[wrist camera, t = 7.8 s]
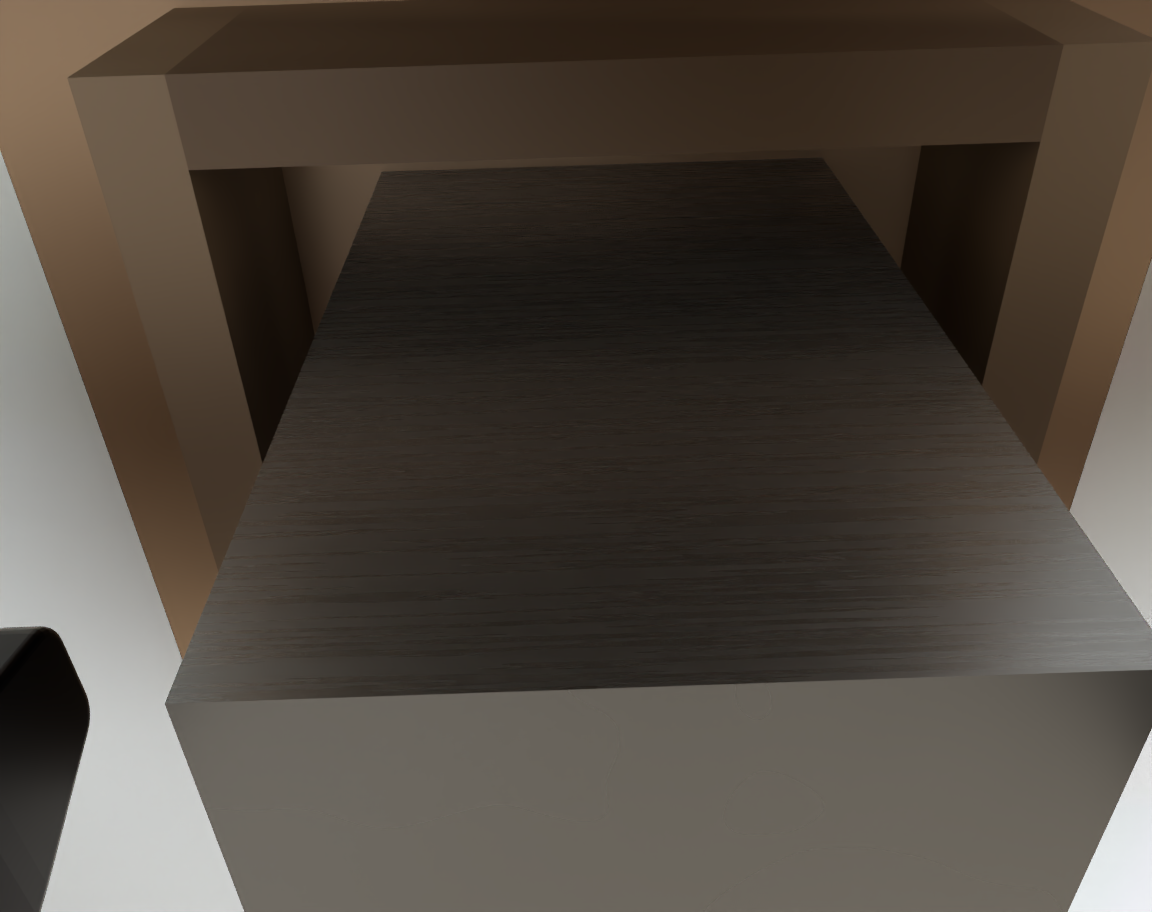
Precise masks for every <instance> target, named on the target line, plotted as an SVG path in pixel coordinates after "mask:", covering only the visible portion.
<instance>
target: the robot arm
mask: <svg viewBox="0 0 1152 912" xmlns="http://www.w3.org/2000/svg"><path fill="white" fill-rule="evenodd" d="M89 720H90V708H89V702H88V698H87V695H86V693H85V690H84V688H83V686H82V684H81V681H80V679H79V677H78V675H77V673H76V670H75V668H74V666H73V664H72V661H71V659H70V657H69V655H68V652H67V650H66V648H65V646H64V643H63V641H62V639H61V638H60V636H59V635H58V634H57V633H56V632H55V631H54V630H52V629H51V628H47V627H41V626H40V627H12V628H1V629H0V912H40V911H41V908H42V904H43V901H44V897H45V894H46V891H47V887H48V883H49V880H50V876H51V872H52V868H53V864H54V860H55V856H56V853H57V849H58V845H59V841H60V837H61V833H62V829H63V826H64V822H65V818H66V814H67V810H68V806H69V802H70V799H71V795H72V791H73V787H74V783H75V779H76V775H77V771H78V768H79V764H80V760H81V756H82V752H83V748H84V744H85V741H86V737H87V733H88V728H89Z"/></svg>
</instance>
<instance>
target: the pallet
mask: <svg viewBox="0 0 1152 912" xmlns="http://www.w3.org/2000/svg"><path fill="white" fill-rule="evenodd" d="M0 150H1V153H2V156H3V159H4V161H5V164H6V167H7V170H8V173H9V175H10V178H11V181H12V184H13V187H14V189H15V192H16V195H17V198H18V201H19V203H20V206H21V209H22V212H23V215H24V217H25V220H26V223H27V226H28V229H29V231H30V234H31V237H32V240H33V243H34V245H35V248H36V251H37V254H38V257H39V259H40V262H41V265H42V268H43V271H44V273H45V276H46V279H47V282H48V284H49V287H50V290H51V293H52V296H53V298H54V301H55V304H56V307H57V310H58V312H59V315H60V318H61V321H62V324H63V326H64V329H65V332H66V335H67V338H68V340H69V343H70V346H71V349H72V352H73V354H74V357H75V360H76V363H77V366H78V368H79V371H80V374H81V377H82V380H83V382H84V385H85V388H86V391H87V394H88V396H89V399H90V402H91V405H92V408H93V410H94V413H95V416H96V419H97V422H98V424H99V427H100V430H101V433H102V436H103V438H104V441H105V444H106V447H107V450H108V452H109V455H110V458H111V461H112V464H113V466H114V469H115V472H116V475H117V478H118V480H119V483H120V486H121V489H122V492H123V494H124V497H125V500H126V503H127V506H128V508H129V511H130V514H131V517H132V520H133V522H134V525H135V528H136V531H137V534H138V536H139V539H140V542H141V545H142V548H143V550H144V553H145V556H146V559H147V562H148V564H149V567H150V570H151V573H152V576H153V578H154V581H155V584H156V587H157V589H158V592H159V595H160V598H161V601H162V603H163V606H164V609H165V612H166V615H167V617H168V620H169V623H170V626H171V629H172V631H173V634H174V637H175V640H176V643H177V645H178V648H179V651H180V654H181V657H182V659H183V658H184V656H185V653H186V651H187V648H188V646H189V643H190V641H191V638H192V636H193V634H194V631H195V629H196V626H197V624H198V621H199V619H200V616H201V614H202V611H203V609H204V607H205V604H206V602H207V599H208V597H209V594H210V592H211V589H212V587H213V584H214V582H215V580H216V577H217V575H218V572H219V570H220V567H221V565H222V562H223V560H224V557H225V555H226V553H227V550H228V548H229V545H230V543H231V540H232V538H233V535H234V533H235V530H236V528H237V526H238V523H239V521H240V518H241V516H242V513H243V511H244V508H245V506H246V503H247V501H248V499H249V496H250V494H251V491H252V489H253V486H254V484H255V481H256V479H257V476H258V474H259V472H260V469H261V467H262V464H263V462H264V459H265V457H266V454H267V452H268V449H269V447H270V445H271V442H272V440H273V437H274V435H275V432H276V430H277V427H278V425H279V422H280V420H281V418H282V415H283V413H284V410H285V408H286V405H287V403H288V400H289V398H290V395H291V393H292V391H293V388H294V386H295V383H296V381H297V378H298V376H299V373H300V371H301V368H302V366H303V364H304V361H305V359H306V356H307V354H308V351H309V349H310V346H311V344H312V341H313V339H314V337H315V334H316V332H317V329H318V327H319V324H320V322H321V319H322V317H323V314H324V312H325V310H326V307H327V305H328V302H329V300H330V297H331V295H332V292H333V290H334V287H335V285H336V283H337V280H338V278H339V275H340V273H341V270H342V268H343V265H344V263H345V260H346V258H347V256H348V253H349V251H350V248H351V246H352V243H353V241H354V238H355V236H356V233H357V231H358V229H359V226H360V224H361V221H362V219H363V216H364V214H365V211H366V209H367V206H368V204H369V202H370V199H371V197H372V194H373V192H374V189H375V187H376V184H377V182H378V179H379V177H380V175H381V172H387V171H418V170H450V169H481V168H513V167H544V166H575V165H607V164H638V163H670V162H701V161H733V160H764V159H796V158H823V159H824V160H825V162H826V163H827V165H828V166H829V168H830V169H831V171H832V172H833V173H834V175H835V176H836V178H837V179H838V181H839V182H840V183H841V185H842V186H843V188H844V189H845V191H846V192H847V193H848V195H849V196H850V198H851V199H852V201H853V202H854V203H855V205H856V206H857V208H858V209H859V211H860V212H861V214H862V215H863V216H864V218H865V219H866V221H867V222H868V224H869V225H870V226H871V228H872V229H873V231H874V232H875V234H876V235H877V236H878V238H879V239H880V241H881V242H882V244H883V245H884V246H885V248H886V249H887V251H888V252H889V254H890V255H891V257H892V258H893V259H894V261H895V262H896V264H897V265H898V267H899V268H900V269H901V271H902V272H903V274H904V275H905V277H906V278H907V279H908V281H909V282H910V284H911V285H912V287H913V288H914V289H915V291H916V292H917V294H918V295H919V297H920V298H921V300H922V301H923V302H924V304H925V305H926V307H927V308H928V310H929V311H930V312H931V314H932V315H933V317H934V318H935V320H936V321H937V322H938V324H939V325H940V327H941V328H942V330H943V331H944V332H945V334H946V335H947V337H948V338H949V340H950V341H951V343H952V344H953V345H954V347H955V348H956V350H957V351H958V353H959V354H960V355H961V357H962V358H963V360H964V361H965V363H966V364H967V365H968V367H969V368H970V370H971V371H972V373H973V374H974V375H975V377H976V378H977V380H978V381H979V383H980V384H981V386H982V387H983V388H984V390H985V391H986V393H987V394H988V396H989V397H990V398H991V400H992V401H993V403H994V404H995V406H996V407H997V408H998V410H999V411H1000V413H1001V414H1002V416H1003V417H1004V418H1005V420H1006V421H1007V423H1008V424H1009V426H1010V427H1011V429H1012V430H1013V431H1014V433H1015V434H1016V436H1017V437H1018V439H1019V440H1020V441H1021V443H1022V444H1023V446H1024V447H1025V449H1026V450H1027V451H1028V453H1029V454H1030V456H1031V457H1032V459H1033V460H1034V461H1035V463H1036V464H1037V466H1038V467H1039V469H1040V470H1041V472H1042V473H1043V474H1044V476H1045V477H1046V479H1047V480H1048V482H1049V483H1050V484H1051V486H1052V487H1053V489H1054V490H1055V492H1056V493H1057V494H1058V496H1059V497H1060V499H1061V500H1062V502H1063V503H1064V504H1065V506H1066V507H1067V509H1068V510H1069V511H1070V508H1071V505H1072V502H1073V498H1074V495H1075V492H1076V489H1077V486H1078V483H1079V480H1080V477H1081V474H1082V471H1083V468H1084V465H1085V462H1086V458H1087V455H1088V452H1089V449H1090V446H1091V443H1092V440H1093V437H1094V434H1095V431H1096V428H1097V425H1098V422H1099V418H1100V415H1101V412H1102V409H1103V406H1104V403H1105V400H1106V397H1107V394H1108V391H1109V388H1110V385H1111V382H1112V378H1113V375H1114V372H1115V369H1116V366H1117V363H1118V360H1119V357H1120V354H1121V351H1122V348H1123V345H1124V341H1125V338H1126V335H1127V332H1128V329H1129V326H1130V323H1131V320H1132V317H1133V314H1134V311H1135V308H1136V305H1137V301H1138V298H1139V295H1140V292H1141V289H1142V286H1143V283H1144V280H1145V277H1146V274H1147V271H1148V268H1149V265H1150V261H1151V258H1152V0H0Z"/></svg>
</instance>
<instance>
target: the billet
mask: <svg viewBox="0 0 1152 912" xmlns="http://www.w3.org/2000/svg"><path fill="white" fill-rule="evenodd" d="M165 705H166V708H167V711H168V713H169V716H170V718H171V721H172V724H173V726H174V729H175V731H176V734H177V737H178V739H179V742H180V744H181V747H182V750H183V752H184V755H185V758H186V760H187V763H188V765H189V768H190V771H191V773H192V776H193V778H194V781H195V784H196V786H197V789H198V791H199V794H200V797H201V799H202V802H203V805H204V807H205V810H206V812H207V815H208V818H209V820H210V823H211V825H212V828H213V831H214V833H215V836H216V839H217V841H218V844H219V846H220V849H221V852H222V854H223V857H224V859H225V862H226V865H227V867H228V870H229V872H230V875H231V878H232V880H233V883H234V886H235V888H236V891H237V893H238V896H239V899H240V901H241V904H242V906H243V909H244V912H1068V909H1069V907H1070V905H1071V903H1072V901H1073V899H1074V896H1075V894H1076V892H1077V890H1078V888H1079V886H1080V883H1081V881H1082V879H1083V877H1084V875H1085V872H1086V870H1087V868H1088V866H1089V864H1090V862H1091V859H1092V857H1093V855H1094V853H1095V851H1096V849H1097V846H1098V844H1099V842H1100V840H1101V838H1102V835H1103V833H1104V831H1105V829H1106V827H1107V825H1108V822H1109V820H1110V818H1111V816H1112V814H1113V812H1114V809H1115V807H1116V805H1117V803H1118V801H1119V798H1120V796H1121V794H1122V792H1123V790H1124V788H1125V785H1126V783H1127V781H1128V779H1129V777H1130V775H1131V772H1132V770H1133V768H1134V766H1135V764H1136V761H1137V759H1138V757H1139V755H1140V753H1141V751H1142V748H1143V746H1144V744H1145V742H1146V740H1147V738H1148V735H1149V733H1150V731H1151V729H1152V629H1151V628H1150V626H1149V625H1148V623H1147V622H1146V621H1145V619H1144V618H1143V616H1142V615H1141V613H1140V612H1139V611H1138V609H1137V608H1136V606H1135V605H1134V603H1133V602H1132V600H1131V599H1130V598H1129V596H1128V595H1127V593H1126V592H1125V590H1124V589H1123V588H1122V586H1121V585H1120V583H1119V582H1118V580H1117V579H1116V578H1115V576H1114V575H1113V573H1112V572H1111V570H1110V569H1109V568H1108V566H1107V565H1106V563H1105V562H1104V560H1103V559H1102V557H1101V556H1100V555H1099V553H1098V552H1097V550H1096V549H1095V547H1094V546H1093V545H1092V543H1091V542H1090V540H1089V539H1088V537H1087V536H1086V535H1085V533H1084V532H1083V530H1082V529H1081V527H1080V526H1079V525H1078V523H1077V522H1076V520H1075V519H1074V517H1073V516H1072V514H1071V513H1070V512H1069V510H1068V509H1067V507H1066V506H1065V504H1064V503H1063V502H1062V500H1061V499H1060V497H1059V496H1058V494H1057V493H1056V492H1055V490H1054V489H1053V487H1052V486H1051V484H1050V483H1049V482H1048V480H1047V479H1046V477H1045V476H1044V474H1043V473H1042V472H1041V470H1040V469H1039V467H1038V466H1037V464H1036V463H1035V461H1034V460H1033V459H1032V457H1031V456H1030V454H1029V453H1028V451H1027V450H1026V449H1025V447H1024V446H1023V444H1022V443H1021V441H1020V440H1019V439H1018V437H1017V436H1016V434H1015V433H1014V431H1013V430H1012V429H1011V427H1010V426H1009V424H1008V423H1007V421H1006V420H1005V418H1004V417H1003V416H1002V414H1001V413H1000V411H999V410H998V408H997V407H996V406H995V404H994V403H993V401H992V400H991V398H990V397H989V396H988V394H987V393H986V391H985V390H984V388H983V387H982V386H981V384H980V383H979V381H978V380H977V378H976V377H975V375H974V374H973V373H972V371H971V370H970V368H969V367H968V365H967V364H966V363H965V361H964V360H963V358H962V357H961V355H960V354H959V353H958V351H957V350H956V348H955V347H954V345H953V344H952V343H951V341H950V340H949V338H948V337H947V335H946V334H945V332H944V331H943V330H942V328H941V327H940V325H939V324H938V322H937V321H936V320H935V318H934V317H933V315H932V314H931V312H930V311H929V310H928V308H927V307H926V305H925V304H924V302H923V301H922V300H921V298H920V297H919V295H918V294H917V292H916V291H915V289H914V288H913V287H912V285H911V284H910V282H909V281H908V279H907V278H906V277H905V275H904V274H903V272H902V271H901V269H900V268H899V267H898V265H897V264H896V262H895V261H894V259H893V258H892V257H891V255H890V254H889V252H888V251H887V249H886V248H885V246H884V245H883V244H882V242H881V241H880V239H879V238H878V236H877V235H876V234H875V232H874V231H873V229H872V228H871V226H870V225H869V224H868V222H867V221H866V219H865V218H864V216H863V215H862V214H861V212H860V211H859V209H858V208H857V206H856V205H855V203H854V202H853V201H852V199H851V198H850V196H849V195H848V193H847V192H846V191H845V189H844V188H843V186H842V185H841V183H840V182H839V181H838V179H837V178H836V176H835V175H834V173H833V172H832V171H831V169H830V168H829V166H828V165H827V163H826V162H825V160H824V159H823V158H796V159H764V160H733V161H701V162H670V163H638V164H607V165H575V166H544V167H513V168H481V169H450V170H418V171H387V172H381V175H380V177H379V179H378V182H377V184H376V187H375V189H374V192H373V194H372V197H371V199H370V202H369V204H368V206H367V209H366V211H365V214H364V216H363V219H362V221H361V224H360V226H359V229H358V231H357V233H356V236H355V238H354V241H353V243H352V246H351V248H350V251H349V253H348V256H347V258H346V260H345V263H344V265H343V268H342V270H341V273H340V275H339V278H338V280H337V283H336V285H335V287H334V290H333V292H332V295H331V297H330V300H329V302H328V305H327V307H326V310H325V312H324V314H323V317H322V319H321V322H320V324H319V327H318V329H317V332H316V334H315V337H314V339H313V341H312V344H311V346H310V349H309V351H308V354H307V356H306V359H305V361H304V364H303V366H302V368H301V371H300V373H299V376H298V378H297V381H296V383H295V386H294V388H293V391H292V393H291V395H290V398H289V400H288V403H287V405H286V408H285V410H284V413H283V415H282V418H281V420H280V422H279V425H278V427H277V430H276V432H275V435H274V437H273V440H272V442H271V445H270V447H269V449H268V452H267V454H266V457H265V459H264V462H263V464H262V467H261V469H260V472H259V474H258V476H257V479H256V481H255V484H254V486H253V489H252V491H251V494H250V496H249V499H248V501H247V503H246V506H245V508H244V511H243V513H242V516H241V518H240V521H239V523H238V526H237V528H236V530H235V533H234V535H233V538H232V540H231V543H230V545H229V548H228V550H227V553H226V555H225V557H224V560H223V562H222V565H221V567H220V570H219V572H218V575H217V577H216V580H215V582H214V584H213V587H212V589H211V592H210V594H209V597H208V599H207V602H206V604H205V607H204V609H203V611H202V614H201V616H200V619H199V621H198V624H197V626H196V629H195V631H194V634H193V636H192V638H191V641H190V643H189V646H188V648H187V651H186V653H185V656H184V658H183V661H182V663H181V665H180V668H179V670H178V673H177V675H176V678H175V680H174V683H173V685H172V688H171V690H170V692H169V695H168V697H167V700H166V702H165Z"/></svg>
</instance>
